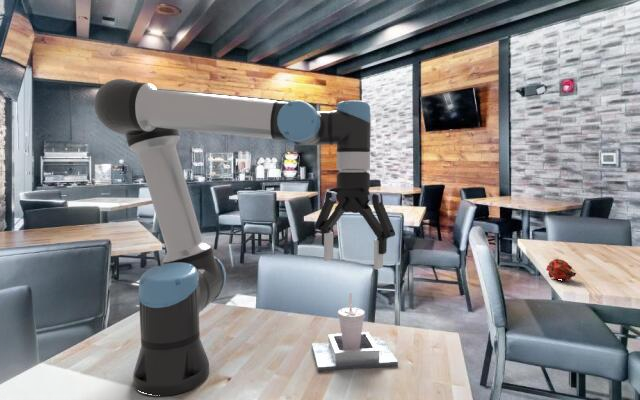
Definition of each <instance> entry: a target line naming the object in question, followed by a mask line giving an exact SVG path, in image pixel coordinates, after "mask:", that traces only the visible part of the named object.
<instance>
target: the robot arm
mask: <svg viewBox="0 0 640 400" xmlns="http://www.w3.org/2000/svg"><path fill="white" fill-rule="evenodd" d="M93 105H94V111H95V112H94V113H95V114H96V116H97V118H98V120H99V121H100V122H101V124H102V125H103V126H104V127H105V128H107V129H108V130H110V131H112V132H115V133H117V134H120V135H125V138H126V142H127V144H128V148H129V150H130V151H132V152H134V153H135V154H137V155H138V158H139V161H140V165H141V168H142V172H143V175H144V178H145V182H146V185H147V188H148V192H149V195H150V198H151V202H152V206H153V208H154V212H155V216H156V218H157V222H158V225H159V229H160V232H161V236H162V238H163V242H164V246H165V249H166V254H165V256H164V257H163V258H162V264H161V265H155V266H154V267H151V268H149V269H147V270H145V272H144V273H142V274H141V276H140V278H139V281H138V292H137V297H138V305H139V306H138V307H139V308H138V309H139V323H140V324H139V325H140V327H139V330H140V343H141V344H140V345H141V346H140V349H139V353H138V356H137V359H136V363H135V367H134V371H133V374H132V376H133V377H132V378H133V379H132V380H133V382H132V383H133V387H135V388H136V389H137V390H139V391H141V392H144V393H147V394H152V395H158V396H157V397H169V396H175V395H179V394H182V393H183V394H184V393H185V392H189V391H191V390H192V389H195V388H197V387H198V386H200V385H201V384H203V383H204V382H205V381H206V380H207V379H208V377H209V374H210V362H209V358H208V355H207V354H206V353H207V352H206V351H205V348H204V345H203V343H202V340H201V336H200V335H201V334H200V314H201V312H202V311H203V310H204V309H205V308H206V307H207V306H209V305H210V304H211V303H213V302H214V301H215V300H216V299H217V298H218V297H219V296H220V294H221V292H222V291H223V289H224V288H225V285H226V282H227V281H226V280H227V274H226V269H225V266H224V264H223V262H222V261H221V260H220V259H219V258H217V257H216V256H215V255H214V254H215V253H214V251H213V248H212V246H211V244H208V243H206V242H205V241H204V240H203V236H202V233H201V229H200V226H199V223H198V218H197V215H196V212H195V208H194V206H193V202H192V198H191V195H190V191H189V187H188V185H187V181H186V178H185V175H184V174H185V173H184V171H183V167H182V164H181V160H180V158H179V154H178V151H177V144H178V143H179V141H180V139H181V137H180V134H179V131H189V132H199V133H200V132H201V133H209V134H219V135H231V136H236V137H237V136H238V137H239V136H240V137H251V138H259V139H270V140H277V141H284V143H285V144H287V145H289V146H290V145H292V146H300V147H302V146H321V145H322V146H323V145H325V146H326V145H330V146H333V145H335V146H336V170H338V171H339V172H337V173H336V188H337V192H336V191H334V190H333V191H332V190H331V191H326V192H325V198H324V199H325V200H324V202H323V205H322V207H321V211H320V212H319V214H318V217H317V219H316V222H315V223H314V229H315V230H318V231H320V232H321V245H322V246H323V260H324V261H331V260H333V259H334V232H333V231H332V229H333V228H334V227H335V225H336V224H337V222H338V221H339V219H341V217H342V216H343V214H344V213H354V214H358V213H359V214H360V215H361V216H362V217H363V218H364V221H365V222H366V223H367V224H368V226H369V227H370V229H371V230H372V232H373V234H374V235H375V236H376V238H375V239H374V245H373V249H374V251H373V269H374V270H376V271H377V270H379V269H381V268H383V267H384V255H385V254H386V253H387V245H388V244H387V240H388V239H390V238H392V237H395V236H396V232H395V229H394V227H393V225H392V222H391V220H390V217H389V215H388V212H387V210H386V207H385V205H384V202H383V201H384V199H383V195H382V193H373V194H370V187H371V174H370V172H368V171H369V170H370V169H371V132H372V131H371V127H372V126H371V124H372V121H371V106H370V104H369V103H368V102H366V101H363V100H343V101H339V102H338V103H337V104H336V108H335V110H332V111H331V110H330V111H327V110H326V111H322V110H320V111H317V108H315V107H314V106H313V105H312V104H310V103H308V102H307V101H304V100H296V99H295V100H291V101H283V100H282V101H281V100H280V101H278V100H271V99H263V98H262V99H261V98H253V97H252V98H251V97H250V98H249V97H240V96H229V95H219V94H209V93H199V92H198V93H196V92H186V91H178V90H177V91H176V90H175V91H174V90H167V89H158V88H157V87H156V86H155V85H154V84H152V83H149V82H148V83H147V82H139V81H133V80H131V79H125V78H117V79H116V78H115V79H112V80H109V81H107V82H105V83H104V84H103V85H102V86H100V88H98V90H97V92H96V94H95V95H94V101H93ZM336 201H337V202H338V204H337V205H336V206H335V203H336ZM369 202H370V203H371V204H372V207H373V208H371V206H370V205H369ZM334 206H335V207H334ZM333 207H334V210H333ZM372 209H373V210H374V212H375V214H376V215H375V214H374V213H373V210H372ZM332 211H333V212H332ZM331 212H332V213H331ZM135 388H134V389H135ZM136 389H135V390H136ZM137 390H136V391H137ZM159 395H160V396H159Z"/></svg>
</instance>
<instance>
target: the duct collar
mask: <svg viewBox="0 0 640 400" xmlns="http://www.w3.org/2000/svg"><path fill="white" fill-rule="evenodd" d="M327 338H328V342H316V343H311V351H312V354H313V357H314V360H315V364H316V368H317V372H329V371H330V372H332V371H333V372H334V371H346V370H359V369H372V368H388V367H399V361H398V359H397V358H396V356H395V355H394V353H393V352H392V351H391V349H390V348H389V347H388V345H387V343H386V342H385V341H384V338H383V339H378V338H377V339H373V337H372V335H371V334H370V332H369V331H366V332H364V331H362V334H361V342H360V349H356V350H343V343H342V336H341V333H330V334H328V337H327Z"/></svg>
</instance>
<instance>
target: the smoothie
mask: <svg viewBox="0 0 640 400" xmlns="http://www.w3.org/2000/svg"><path fill="white" fill-rule="evenodd" d="M337 317H338V318H339V326H340V334H341V336H342V343H343V350H356V349H360V342H361V334H362V332H363V325H364V319H365V318H366V311H365V310H364V309H362V308H358V307H353V293H352V292H349V307H343V308H340V309H338V311H337Z"/></svg>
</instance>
